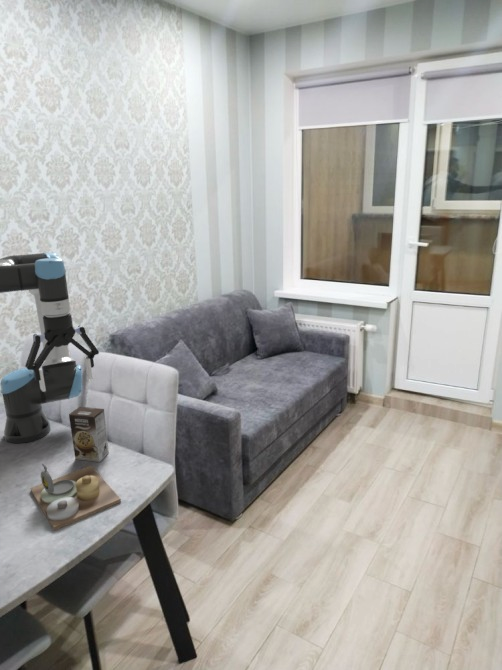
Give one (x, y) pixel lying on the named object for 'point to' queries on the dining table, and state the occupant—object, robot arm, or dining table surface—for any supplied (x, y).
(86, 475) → the tray
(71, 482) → the pocket watch
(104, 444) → the coffee box
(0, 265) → the robot arm
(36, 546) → the dining table surface
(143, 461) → the dining table surface
